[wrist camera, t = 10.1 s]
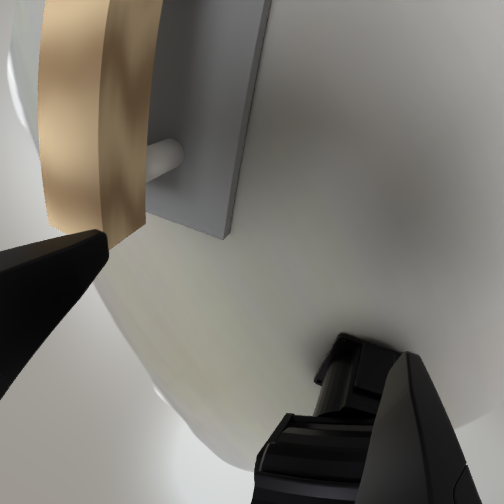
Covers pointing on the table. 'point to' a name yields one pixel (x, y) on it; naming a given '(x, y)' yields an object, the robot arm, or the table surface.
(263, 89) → the table surface
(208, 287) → the table surface
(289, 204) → the table surface
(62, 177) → the oak plank
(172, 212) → the peg board
